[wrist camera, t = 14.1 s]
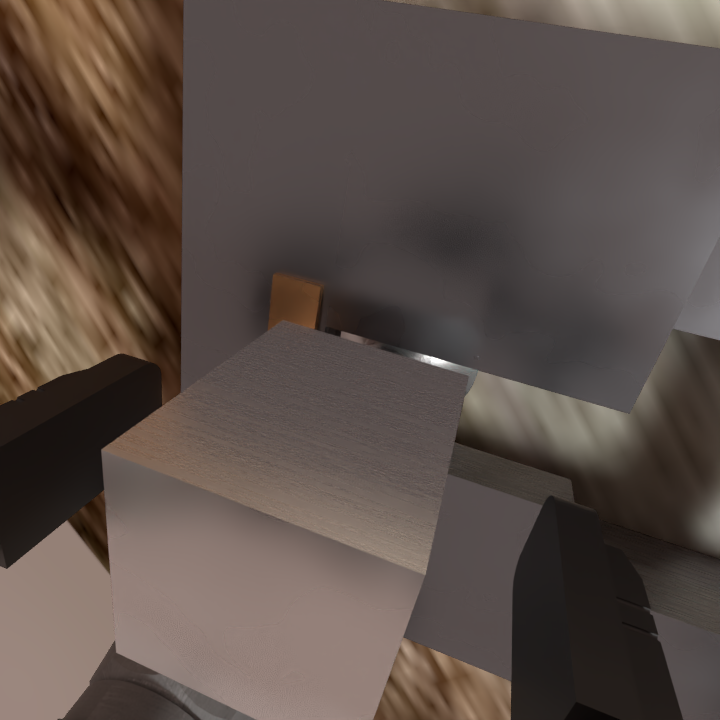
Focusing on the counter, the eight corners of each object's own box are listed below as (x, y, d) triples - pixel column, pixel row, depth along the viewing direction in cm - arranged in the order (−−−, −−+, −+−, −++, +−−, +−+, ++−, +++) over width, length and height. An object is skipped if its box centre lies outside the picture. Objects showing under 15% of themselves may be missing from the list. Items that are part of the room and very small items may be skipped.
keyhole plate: (1162, 170, 10) (1708, 185, 5) (751, 642, 17) (837, 821, 12) (290, 29, 14) (177, -32, 9) (250, 463, 21) (176, 550, 16)
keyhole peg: (504, 282, 15) (474, 562, 5) (461, 410, 17) (376, 793, 7) (359, 244, 16) (70, 410, 6) (335, 370, 18) (96, 657, 8)
